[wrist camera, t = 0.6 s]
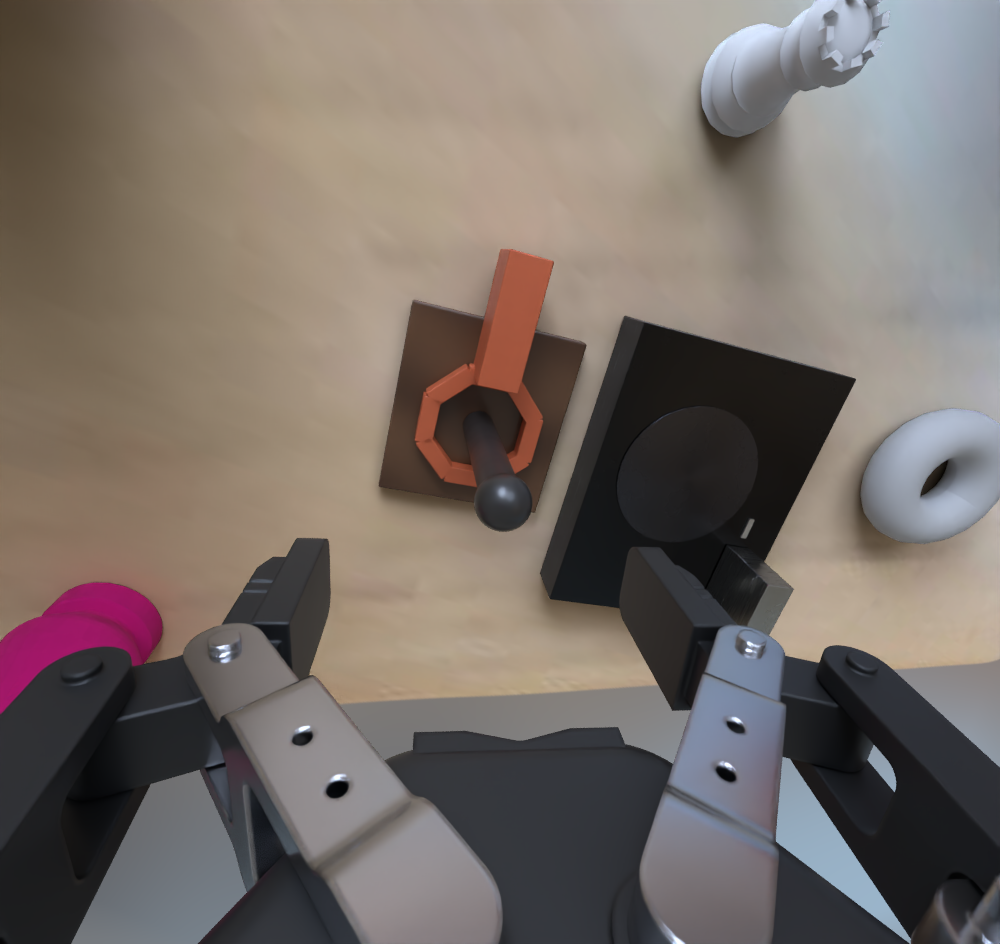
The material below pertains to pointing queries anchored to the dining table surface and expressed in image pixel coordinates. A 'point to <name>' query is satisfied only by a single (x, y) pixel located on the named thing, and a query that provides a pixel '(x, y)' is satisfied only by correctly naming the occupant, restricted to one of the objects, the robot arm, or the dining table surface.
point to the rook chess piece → (787, 62)
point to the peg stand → (476, 416)
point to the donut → (912, 458)
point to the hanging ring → (495, 363)
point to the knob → (749, 589)
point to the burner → (687, 474)
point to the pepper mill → (78, 633)
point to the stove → (664, 389)
